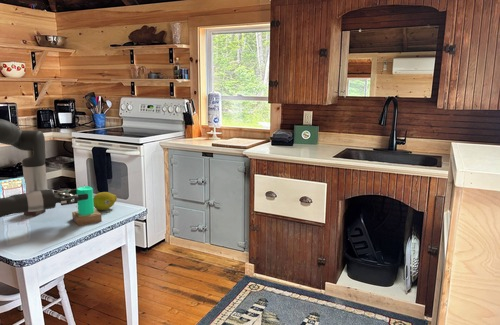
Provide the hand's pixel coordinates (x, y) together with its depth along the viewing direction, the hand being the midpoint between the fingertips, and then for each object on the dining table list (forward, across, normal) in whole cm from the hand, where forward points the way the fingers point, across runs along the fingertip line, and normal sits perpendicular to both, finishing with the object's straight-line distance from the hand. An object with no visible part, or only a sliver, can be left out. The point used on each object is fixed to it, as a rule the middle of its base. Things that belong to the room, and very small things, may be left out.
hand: (84, 193), depth 155 cm
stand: (0, 0, +12) cm, 12 cm away
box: (-16, +20, +12) cm, 28 cm away
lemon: (+10, +9, +12) cm, 18 cm away
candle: (0, 0, +8) cm, 8 cm away
